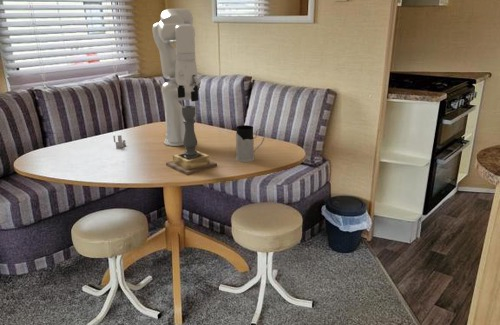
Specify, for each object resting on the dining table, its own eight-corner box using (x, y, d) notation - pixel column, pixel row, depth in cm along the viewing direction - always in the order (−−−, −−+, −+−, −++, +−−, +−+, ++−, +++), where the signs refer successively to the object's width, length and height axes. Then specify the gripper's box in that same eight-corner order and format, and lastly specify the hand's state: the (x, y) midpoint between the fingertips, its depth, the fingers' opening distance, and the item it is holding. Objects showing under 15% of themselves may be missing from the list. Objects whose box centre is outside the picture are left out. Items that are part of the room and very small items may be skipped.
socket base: (166, 165, 184) (165, 155, 182) (196, 157, 194) (195, 147, 192) (186, 174, 173) (186, 164, 171) (217, 166, 183) (216, 155, 181)
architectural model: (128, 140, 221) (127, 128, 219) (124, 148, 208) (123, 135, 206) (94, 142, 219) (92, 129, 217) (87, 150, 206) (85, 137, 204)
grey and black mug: (233, 157, 194) (232, 125, 189) (261, 153, 199) (261, 123, 194) (239, 163, 186) (238, 130, 181) (268, 159, 191) (268, 127, 186)
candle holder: (184, 160, 186) (181, 105, 177) (198, 160, 186) (196, 105, 178) (183, 165, 180) (180, 108, 172) (198, 165, 180) (195, 108, 172)
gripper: (166, 56, 171) (169, 97, 177) (190, 59, 159) (192, 103, 165) (181, 54, 176) (184, 94, 182) (206, 58, 164) (207, 101, 170)
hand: (188, 99), depth 174 cm, fingers open, 9 cm apart
